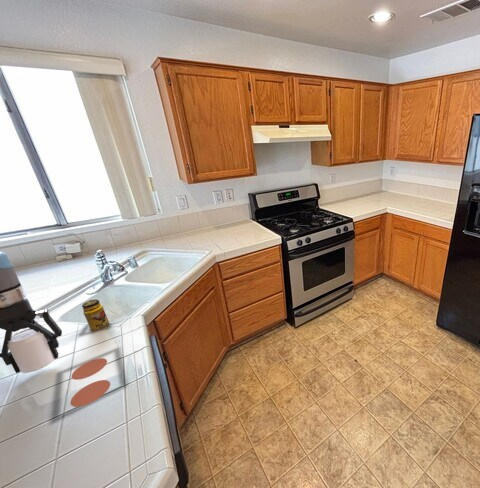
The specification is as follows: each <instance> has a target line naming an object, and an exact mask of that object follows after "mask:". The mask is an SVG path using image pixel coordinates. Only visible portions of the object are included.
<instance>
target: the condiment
mask: <svg viewBox="0 0 480 488" xmlns="http://www.w3.org/2000/svg"><path fill="white" fill-rule="evenodd" d="M81 308H82V310H83V316H84V318H85V320H86V322H87V325H88V327H89V329H90V330H91V331H100V330H102V329H104V328H106V327H107V326H108V325H109V324H110V321H109V319H108V316H107V314H106V311H105V309H104V306H103V305H102V304H101V302H100V300H99V299H97V298H96V299H90V300H87V301H85V302H84V303H82V305H81Z"/></svg>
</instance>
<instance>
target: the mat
mask: <svg viewBox="0 0 480 488" xmlns="http://www.w3.org/2000/svg"><path fill="white" fill-rule="evenodd" d="M107 364H108V360H107V359H106V358H104V357H100V358H99V357H98V358H94V359H91V360H89V361H87V362H84V363H83V364H81V365H80V366H78V367H77V368H75V370H74V371H73V372H72V374H71V379H72V380H77V381H78V380H84V379H87V378H89V377H92V376H93V375H96V374H97V373H98V372H100V371H101V370H103V369H104V368H105V367H106V365H107ZM110 387H111V382H110V380H107V379H101V380H96V381H94V382H91V383H89V384H87V385H85V386H84V387H81V388H80V389H79V390H78V391H77V392H75V394H74V395H73V396H72V397H71V398H70V403H69V404H70V405H71V407H74V408H79V407H84V406H87V405H89V404H92V403H94V402H95V401H97V400H98V399H100V398H101V397H103V396H104V395H105V394H106V393H107V392H108V391H109V390H110Z"/></svg>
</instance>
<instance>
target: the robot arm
mask: <svg viewBox="0 0 480 488" xmlns="http://www.w3.org/2000/svg"><path fill="white" fill-rule="evenodd" d="M36 317H39V318H41V319H43V320H44V322H45V324H46V325H47V326H48V327H49V328H50V329H51V330H49V329H48V328H45V327H44V326H43V325H41V324H40V323H38V321H36ZM29 328H30V329H33V330H34V331H36V332H39V331H40V333H42V334H44V337H46V338H47V339H48V345H49V347H50V349H51V351H52V354H53V356H54V358H55V359H54V360H57V359H58V358H59V351H58V348H59V345H60V343H59V340H58V338H59V337H61V336H62V334H63V330H62V328H60V326H59V325H58V324H57V322H56V321H55V320H54V319H53V317H52V316H51V315H50V310H49V308H45V309H43V310H39V311H36V310H34V309H33V307H32V304H31V303H30V300H29V299H28V297H27V294H26V292H25V290H24V288H23V285H22V284H21V282H20V280H19V277H18V274H17V273H16V271H15V268H14V265H13V263H11V260H10V259H9V257H8V255H7V253H5V252H3V251H0V330H4V331H5V333H4V338H3V343H2V347H1V350H0V358H1V359H2V360H3V362H4V364H5V366H10V365H11V366H12V368H13V370H14V372H15V374H19V373H21V371H20V369H19V367H18V365H17V364H16V362H15V360H14V358H13V356H12V354H11V352H10V350H9V348H8V346H7V345H8V343H9V342H8V341H10V340H11V337H12V335H13V333H17V332H19V331H20V330H26V329H29Z"/></svg>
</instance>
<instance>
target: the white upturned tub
mask: <svg viewBox="0 0 480 488" xmlns="http://www.w3.org/2000/svg"><path fill="white" fill-rule="evenodd" d="M8 342H9V343H8V345H7V346H8V348H9V352H11V354H12V356H13V358H14V360H15V362H16V364H17V365H18V367H19V369H20V373H22V374H30V373H33V372H37V371H39V370H42V369H44V368H46V367H47V366H49V365H50V364H52V363H53V362H54V361H55V360H56V359H55V358H54V356H53V354H52V351H51V349H50V347H49V345H48V339H47V338H46V337H44V334H42V333H40V331H39V332H36V331H34V330H33V329H30V328H25V329H22V330H21V331H20V330H19V331H17V332H15V333H14V334H12V337H11V340H10V341H8Z"/></svg>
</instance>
